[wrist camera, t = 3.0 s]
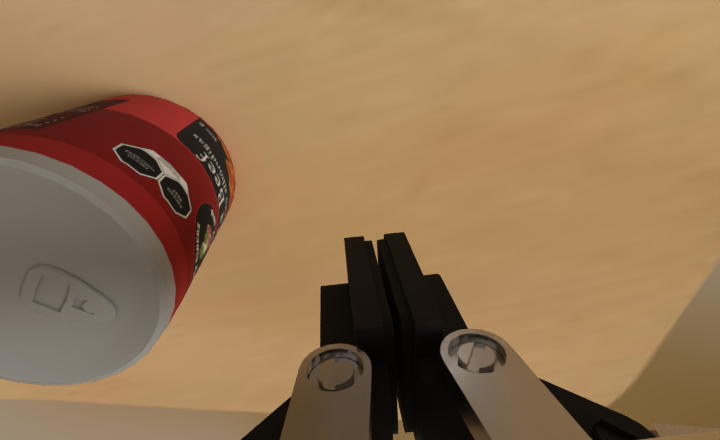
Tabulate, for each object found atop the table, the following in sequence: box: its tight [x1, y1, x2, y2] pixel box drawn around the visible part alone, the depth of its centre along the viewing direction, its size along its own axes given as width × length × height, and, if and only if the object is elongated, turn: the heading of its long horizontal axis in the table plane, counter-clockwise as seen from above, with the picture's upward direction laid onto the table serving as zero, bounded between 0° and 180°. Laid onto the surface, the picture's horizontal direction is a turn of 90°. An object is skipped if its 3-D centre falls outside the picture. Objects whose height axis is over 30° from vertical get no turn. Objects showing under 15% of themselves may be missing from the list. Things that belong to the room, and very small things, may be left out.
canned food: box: [0, 95, 236, 385], centre depth 16 cm, size 8×8×11 cm
